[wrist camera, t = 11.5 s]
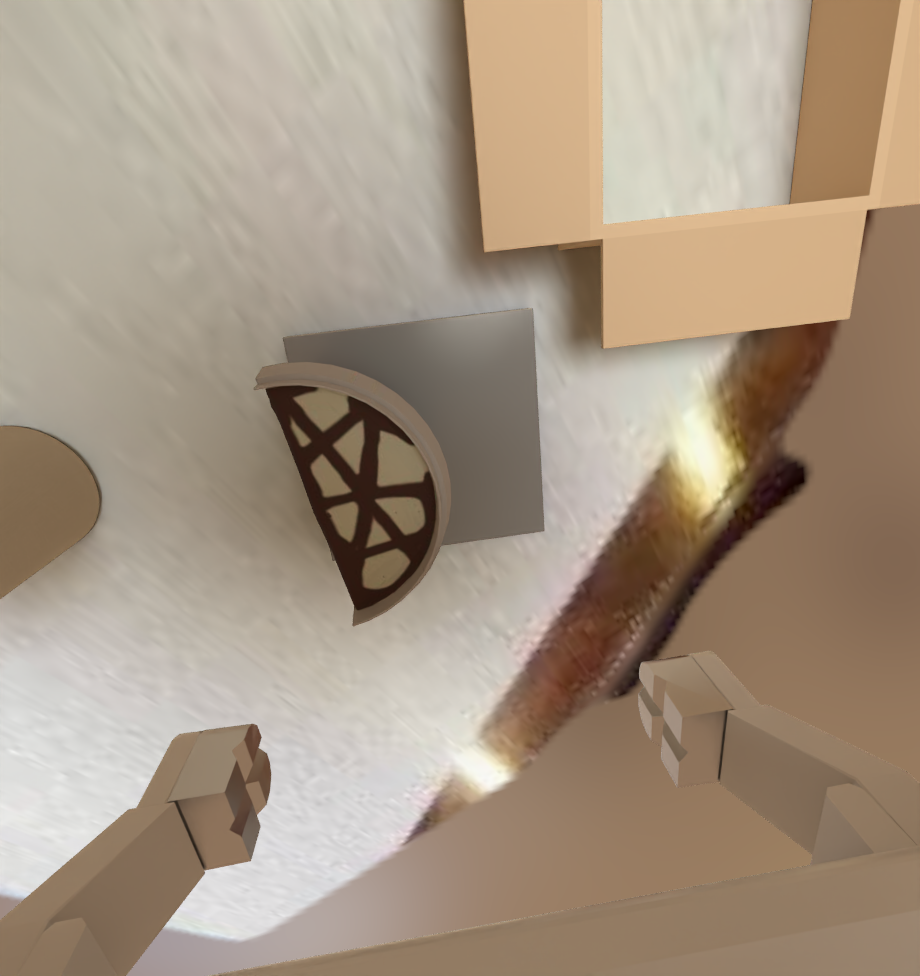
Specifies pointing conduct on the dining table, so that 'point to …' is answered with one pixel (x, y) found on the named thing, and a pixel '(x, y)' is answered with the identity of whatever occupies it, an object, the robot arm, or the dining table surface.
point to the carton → (701, 237)
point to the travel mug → (40, 502)
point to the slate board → (460, 406)
